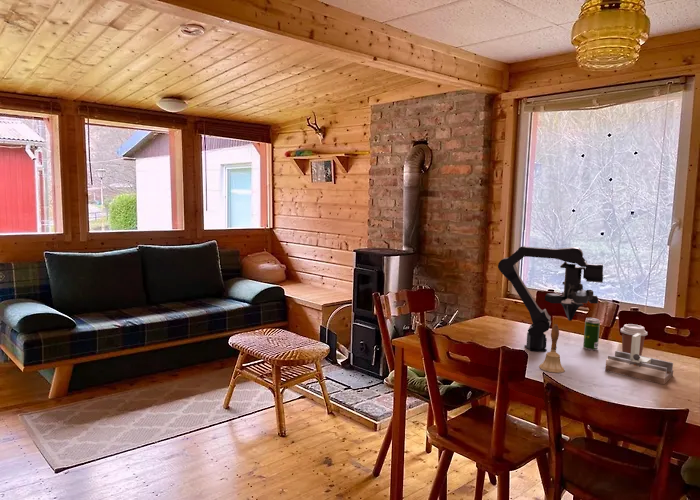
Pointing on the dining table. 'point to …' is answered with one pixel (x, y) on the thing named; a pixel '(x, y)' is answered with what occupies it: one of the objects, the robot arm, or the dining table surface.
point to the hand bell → (553, 355)
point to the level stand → (640, 368)
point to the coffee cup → (627, 337)
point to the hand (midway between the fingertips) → (569, 320)
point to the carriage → (637, 350)
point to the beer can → (591, 333)
